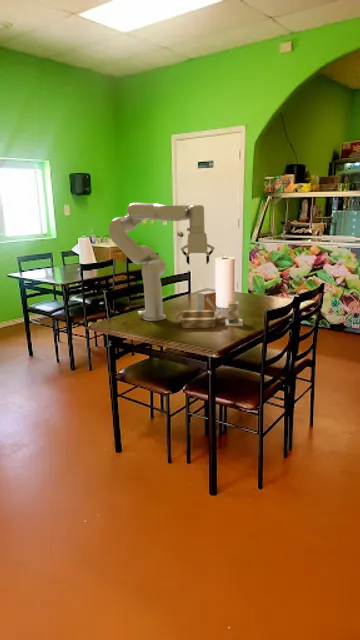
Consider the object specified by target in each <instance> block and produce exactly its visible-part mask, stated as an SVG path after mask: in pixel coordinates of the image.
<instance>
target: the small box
mask: <svg viewBox="0 0 360 640" xmlns="http://www.w3.org/2000/svg"><path fill="white" fill-rule="evenodd" d="M216 300H217V295H216V291H213V290H207V291H200V292H197V310H215V311H217V302H216Z"/></svg>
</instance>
